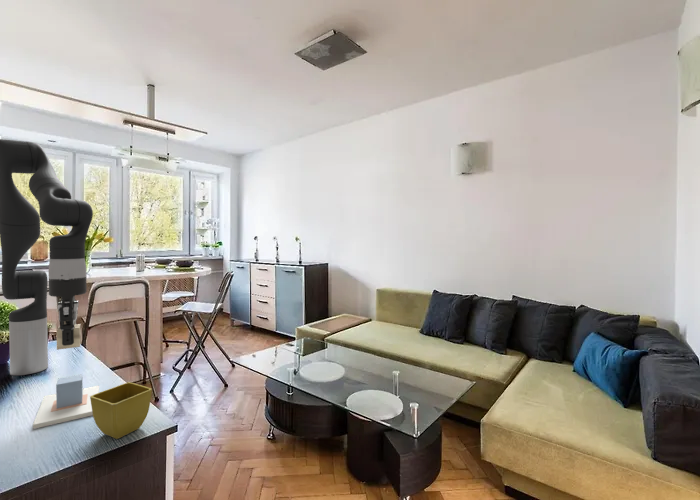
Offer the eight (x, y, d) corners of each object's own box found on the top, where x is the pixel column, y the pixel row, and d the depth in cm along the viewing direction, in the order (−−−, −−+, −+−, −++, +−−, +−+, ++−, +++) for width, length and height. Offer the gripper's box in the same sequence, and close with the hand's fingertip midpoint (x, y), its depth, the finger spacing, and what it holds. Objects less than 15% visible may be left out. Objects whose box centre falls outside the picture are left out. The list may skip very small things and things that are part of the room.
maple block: (58, 345, 89) (58, 326, 89) (80, 342, 92) (80, 324, 92) (56, 349, 85) (56, 329, 85) (79, 346, 88) (79, 327, 88)
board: (44, 399, 93) (44, 395, 93) (99, 388, 100) (99, 385, 100) (33, 429, 78) (33, 424, 78) (98, 413, 85) (98, 409, 85)
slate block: (58, 401, 89) (58, 378, 89) (82, 396, 92) (82, 374, 92) (56, 408, 85) (56, 384, 85) (82, 403, 88) (81, 380, 88)
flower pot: (153, 426, 79) (153, 388, 79) (114, 447, 71) (113, 404, 71) (129, 418, 83) (129, 381, 83) (89, 436, 75) (88, 396, 75)
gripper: (52, 275, 92) (53, 338, 92) (44, 279, 80) (45, 352, 80) (87, 273, 96) (88, 334, 96) (85, 277, 85) (86, 346, 85)
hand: (68, 342), depth 88 cm, fingers closed on maple block, 4 cm apart
